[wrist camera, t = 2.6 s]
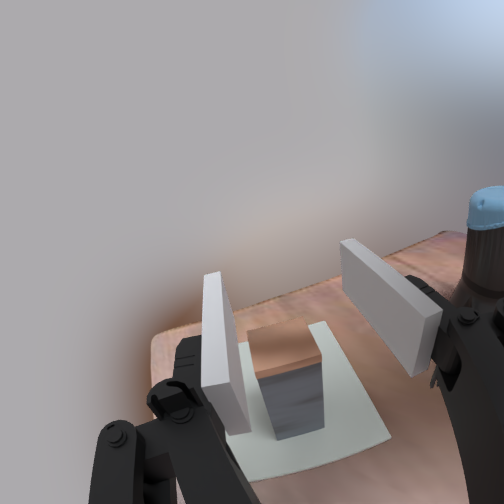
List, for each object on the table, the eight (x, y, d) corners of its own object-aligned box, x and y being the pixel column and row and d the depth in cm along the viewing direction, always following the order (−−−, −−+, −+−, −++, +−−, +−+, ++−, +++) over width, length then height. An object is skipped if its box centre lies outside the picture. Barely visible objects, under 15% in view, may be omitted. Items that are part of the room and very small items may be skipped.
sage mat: (216, 350, 47) (215, 348, 47) (324, 322, 48) (324, 320, 48) (226, 485, 23) (225, 484, 23) (390, 438, 24) (391, 437, 24)
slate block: (268, 405, 34) (246, 331, 28) (311, 394, 34) (302, 316, 29) (277, 441, 28) (254, 372, 23) (325, 428, 28) (321, 354, 23)
